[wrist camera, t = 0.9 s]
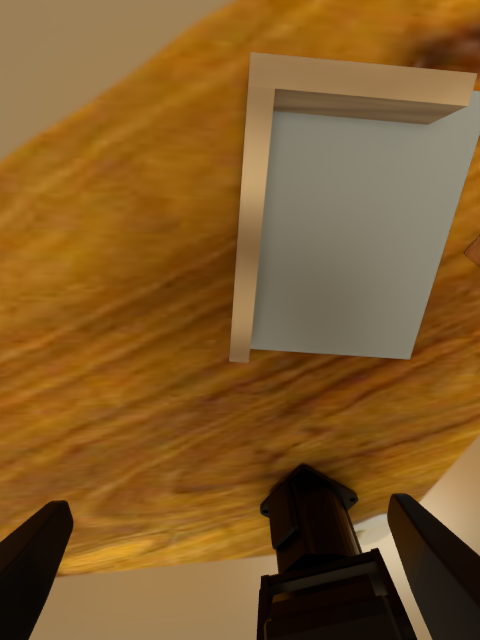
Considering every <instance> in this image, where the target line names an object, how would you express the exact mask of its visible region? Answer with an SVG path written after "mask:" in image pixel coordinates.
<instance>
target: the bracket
mask: <svg viewBox="0 0 480 640" xmlns="http://www.w3.org/2000/svg"><path fill="white" fill-rule="evenodd" d="M464 254H465V255H467V256H468V257H469V258H470V259H471V260H472V261H474V262H475V263H476V264H477V265H478V266H480V236H479V237H478V238H477V239H476V240H475V241H474V242H473V243H472V244H471V245H470V246H469V248H468V249H467V250H466V251H465V252H464Z"/></svg>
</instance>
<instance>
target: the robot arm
mask: <svg viewBox="0 0 480 640" xmlns="http://www.w3.org/2000/svg"><path fill="white" fill-rule="evenodd" d="M303 471H304V472H303ZM357 501H358V497H357V494H356V493H355V492H353V491H352V490H350V489H348V488H346V487H344V486H342V485H341V484H339V483H337V482H335V481H333V480H332V479H330V478H328V477H326V476H324V475H322V474H321V473H319V472H317V471H315V470H313V469H311V468H310V467H308V466H306V465H301V466H299V467H298V468H297V469H296V470H295V471H294V472H293V473H292V474H291V475H290V476H289V477H288V478H287V479H286V480H285V481H284V482H283V483H282V484H281V485H280V486H279V487H278V488H277V489H276V490H275V491H274V492H273V493H272V495H271V496H270V497H269V498H268V499H267V500H266V501H265V502H264V503H263V504H262V505H261V506H260V513H261V514H262V515H264V516H266V517H268V518H269V519H270V530H271V540H272V547H273V549H274V550H276V555H277V564H278V573H279V574H275V575H270V576H269V575H264V576H261V588H260V590H259V604H258V606H259V607H258V622H257V640H417V637H416V635H415V632H414V630H413V628H412V625H411V623H410V620H409V618H408V615H407V613H406V611H405V608H404V606H403V604H402V602H401V599H400V597H399V595H398V593H397V590H396V588H395V586H394V583H393V581H392V579H391V576H390V574H389V572H388V569H387V567H386V565H385V562H384V560H383V558H382V556H381V553H380V551H379V549H378V548H375V549H371V551H370V552H365V553H362V550H361V547H360V544H359V542H358V539H357V536H356V533H355V531H354V528H353V525H352V522H351V519H350V517H349V514H348V511H347V510H348V509H350V508H351V507H352V506H353V505H354V504H355V503H356V502H357ZM387 519H388V524H389V527H390V530H391V533H392V536H393V538H394V541H395V544H396V547H397V550H398V553H399V556H400V559H401V562H402V565H403V568H404V571H405V574H406V576H407V580H408V582H409V585H410V588H411V591H412V593H413V595H414V598H415V601H416V603H417V605H418V607H419V610H420V612H421V614H422V617H423V619H424V621H425V624H426V626H427V628H428V630H429V633H430V635H431V637H432V639H433V640H480V556H479V555H478V554H477V553H476V552H475V551H473V550H472V549H471V548H470V547H469V546H468V545H467V544H465V543H464V542H463V541H462V540H461V539H459V538H458V537H457V536H456V535H455V534H454V533H453V532H451V531H450V530H449V529H448V528H447V527H446V526H445V525H443V524H442V523H441V522H440V521H439V520H438V519H437V518H435V517H434V516H433V515H432V514H431V513H429V512H428V511H427V510H426V509H425V508H424V507H423V506H421V505H420V504H419V503H418V502H417V501H416V500H415V499H413V498H412V497H411V496H410V495H408V494H405V493H398V494H392V495H391V498H390V503H389V508H388V513H387ZM72 530H73V518H72V514H71V511H70V508H69V505H68V502H67V501H65V500H59V501H51V502H49V503H47V504H46V505H45V506H44V507H42V508H41V509H40V510H39V511H38V512H36V513H35V514H34V515H33V516H32V517H30V518H29V519H28V520H27V521H26V522H24V523H23V524H22V525H21V526H19V527H18V528H17V529H16V530H15V531H13V532H12V533H11V534H10V535H9V536H7V537H6V538H5V539H4V540H3V541H1V542H0V640H28V639H29V637H30V635H31V633H32V631H33V629H34V626H35V624H36V622H37V620H38V618H39V616H40V613H41V611H42V609H43V606H44V604H45V602H46V600H47V597H48V595H49V592H50V590H51V587H52V585H53V582H54V579H55V576H56V574H57V571H58V568H59V565H60V563H61V560H62V557H63V554H64V552H65V549H66V546H67V544H68V541H69V538H70V535H71V533H72Z"/></svg>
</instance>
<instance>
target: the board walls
mask: <svg viewBox="0 0 480 640" xmlns="http://www.w3.org/2000/svg"><path fill="white" fill-rule="evenodd" d="M476 77H477V73H466V72H456V71H445V70H434V69H424V68H413V67H403V66H392V65H381V64H371V63H360V62H350V61H339V60H328V59H318V58H307V57H296V56H286V55H275V54H265V53H254V52H251V53H250V67H249V81H248V96H247V110H246V125H245V139H244V154H243V169H242V183H241V198H240V212H239V227H238V241H237V256H236V270H235V285H234V299H233V314H232V328H231V343H230V357H229V362H244V363H249V356H250V346H251V335H252V325H253V314H254V304H255V293H256V283H257V272H258V262H259V251H260V241H261V230H262V220H263V210H264V199H265V189H266V178H267V168H268V157H269V147H270V136H271V126H272V115H273V111H278V112H289V113H300V114H312V115H323V116H334V117H345V118H357V119H368V120H379V121H390V122H402V123H413V124H424V125H428V124H431V123H433V122H435V121H437V120H439V119H441V118H443V117H446V116H448V115H450V114H452V113H454V112H456V111H458V110H461V109H463V108H465V107H467V106H468V104H469V101H470V97H471V94H472V90H473V87H474V84H475V80H476Z"/></svg>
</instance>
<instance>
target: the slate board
mask: <svg viewBox="0 0 480 640" xmlns="http://www.w3.org/2000/svg"><path fill="white" fill-rule="evenodd" d="M479 134H480V91H472V94H471V97H470V101H469V104H468V106H467V107H465V108H463V109H461V110H458V111H456V112H454V113H452V114H450V115H448V116H446V117H443V118H441V119H439V120H437V121H435V122H433V123H431V124H428V125H424V124H413V123H402V122H390V121H379V120H368V119H357V118H345V117H334V116H323V115H312V114H300V113H289V112H278V111H273V115H272V126H271V136H270V147H269V157H268V168H267V178H266V189H265V199H264V210H263V220H262V230H261V241H260V251H259V262H258V272H257V283H256V293H255V304H254V314H253V325H252V335H251V346H250V349H261V350H276V351H291V352H306V353H321V354H336V355H351V356H366V357H381V358H397V359H410V357H411V353H412V350H413V347H414V344H415V341H416V337H417V334H418V331H419V328H420V324H421V321H422V318H423V315H424V312H425V308H426V305H427V302H428V299H429V295H430V292H431V289H432V286H433V282H434V279H435V276H436V273H437V270H438V266H439V263H440V260H441V257H442V253H443V250H444V247H445V244H446V241H447V237H448V234H449V231H450V228H451V224H452V221H453V218H454V215H455V212H456V208H457V205H458V202H459V199H460V195H461V192H462V189H463V186H464V182H465V179H466V176H467V173H468V170H469V166H470V163H471V160H472V157H473V153H474V150H475V147H476V144H477V141H478V137H479ZM242 169H243V168H242Z"/></svg>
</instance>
